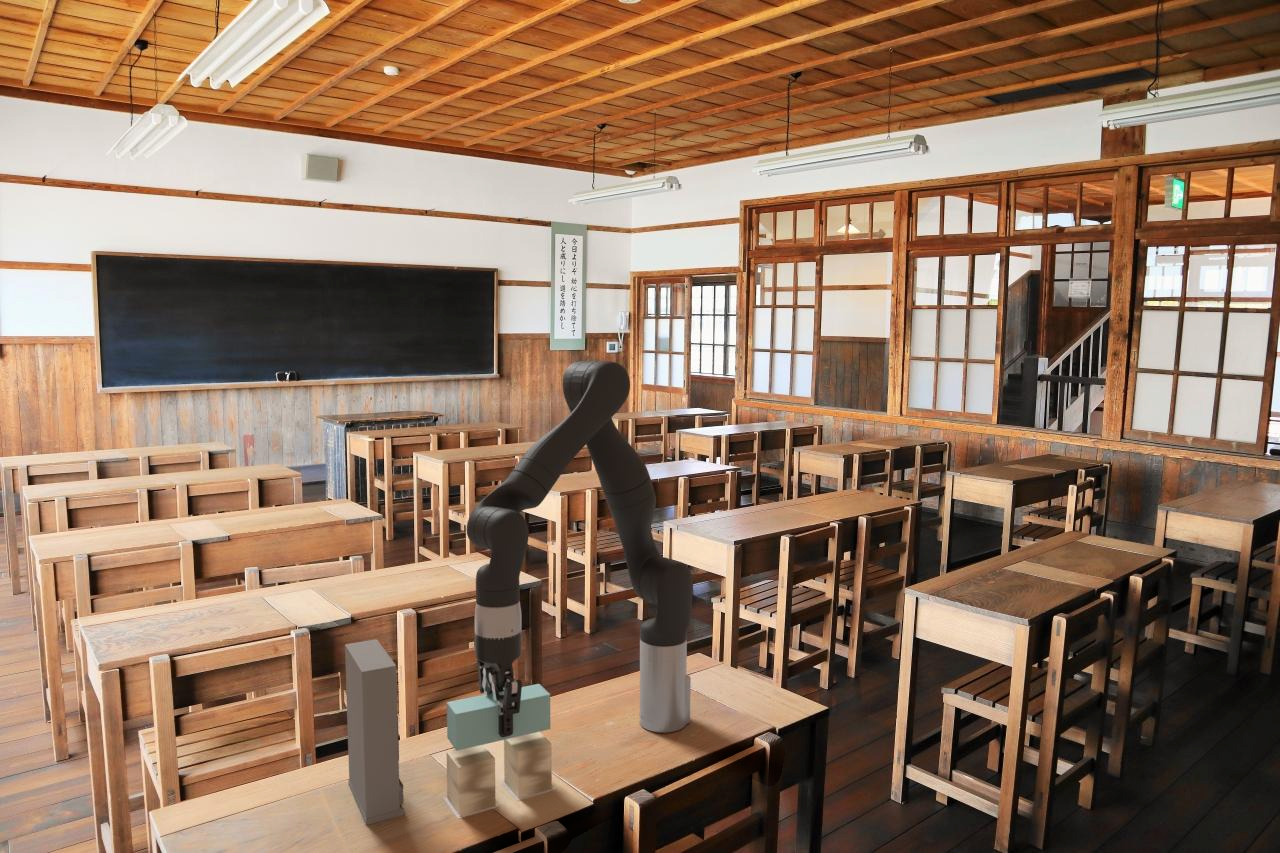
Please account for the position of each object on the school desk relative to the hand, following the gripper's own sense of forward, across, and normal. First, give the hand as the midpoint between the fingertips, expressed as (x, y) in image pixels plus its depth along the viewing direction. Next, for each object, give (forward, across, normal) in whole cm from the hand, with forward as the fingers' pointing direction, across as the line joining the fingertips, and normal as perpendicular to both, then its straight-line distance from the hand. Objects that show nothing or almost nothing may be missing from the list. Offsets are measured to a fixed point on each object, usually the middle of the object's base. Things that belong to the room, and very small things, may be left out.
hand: (499, 728), depth 138 cm
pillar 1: (+11, 0, +5) cm, 12 cm away
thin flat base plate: (+12, 0, 0) cm, 12 cm away
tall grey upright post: (+12, +9, +18) cm, 23 cm away
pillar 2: (+11, 0, -5) cm, 12 cm away
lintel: (+1, 0, 0) cm, 1 cm away
